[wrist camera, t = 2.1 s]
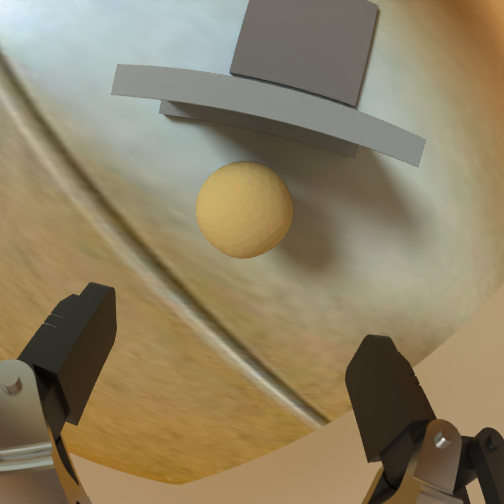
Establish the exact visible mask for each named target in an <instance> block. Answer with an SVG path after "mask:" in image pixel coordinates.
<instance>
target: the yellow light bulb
mask: <svg viewBox="0 0 504 504" xmlns="http://www.w3.org/2000/svg"><path fill="white" fill-rule="evenodd" d="M196 217H197V222H198V225H199V227H200V229H201V232H202V233H203V235H204V236H205V238H206V239H207V240H208V241H209V242H210V243H211V244H212V245H213V246H214V247H215V248H217V249H218V250H219V251H221V252H222V253H224V254H226V255H228V256H231V257H235V258H240V259H241V258H251V257H255V256H258V255H261V254H263V253H265V252H267V251H269V250H271V249H272V248H273V247H275V246H276V245H277V244H278V243H279V242H280V241H281V240H282V239H283V238H284V237H285V235H286V234H287V232H288V230H289V228H290V226H291V222H292V218H293V204H292V199H291V195H290V192H289V190H288V187H287V186H286V184H285V183H284V181H283V180H282V179H281V177H280V176H279V175H278V174H276V173H275V172H274V171H273V170H272V169H270V168H268V167H266V166H264V165H262V164H259V163H256V162H250V161H239V162H234V163H230V164H227V165H225V166H223V167H221V168H219V169H218V170H216V171H215V172H214V173H213V174H211V175H210V177H209V178H208V179H207V180H206V181H205V182H204V184H203V186H202V187H201V189H200V192H199V194H198V197H197V202H196Z"/></svg>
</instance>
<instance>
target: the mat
mask: <svg viewBox="0 0 504 504" xmlns="http://www.w3.org/2000/svg"><path fill="white" fill-rule="evenodd" d="M377 9H378V5H376V4H374V3H371V2H369V1H367V0H249V3H248V7H247V10H246V13H245V17H244V20H243V24H242V27H241V31H240V34H239V38H238V42H237V45H236V49H235V53H234V57H233V60H232V64H231V68H230V72H229V73H232V74H237V75H243V76H248V77H252V78H257V79H262V80H266V81H270V82H274V83H278V84H282V85H286V86H290V87H294V88H297V89H301V90H305V91H308V92H311V93H315V94H318V95H321V96H324V97H328V98H331V99H334V100H337V101H340V102H343V103H346V104H348V105H351V106H355V105H356V101H357V97H358V93H359V89H360V85H361V81H362V77H363V73H364V69H365V65H366V60H367V56H368V52H369V47H370V43H371V38H372V33H373V29H374V24H375V19H376V14H377Z"/></svg>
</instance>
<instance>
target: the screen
mask: <svg viewBox="0 0 504 504" xmlns="http://www.w3.org/2000/svg"><path fill="white" fill-rule="evenodd" d="M111 95H120V96H131V97H141V98H150V99H158V100H161V105H160V110H159V114H166V115H173V116H180V117H187V118H193V119H199V120H205V121H210V122H216V123H221V124H227V125H232V126H237V127H241V128H246V129H251V130H255V131H260V132H264V133H268V134H272V135H276V136H280V137H284V138H288V139H292V140H296V141H300V142H303V143H307V144H311V145H314V146H318V147H321V148H324V149H328V150H331V151H334V152H338V153H341V154H344V155H347V156H350V157H353V158H355V155H356V151H357V148H358V145H360V146H363V147H366V148H368V149H371V150H374V151H377V152H380V153H383V154H385V155H388V156H391V157H393V158H396V159H399V160H401V161H404V162H406V163H409V164H411V165H414V166H416V167H418V166H419V163H420V159H421V156H422V153H423V149H424V146H425V142H426V140H425V139H423V138H421V137H419V136H417V135H415V134H413V133H411V132H408V131H406V130H404V129H402V128H399V127H397V126H395V125H392V124H390V123H388V122H385V121H383V120H380V119H378V118H375V117H373V116H370V115H368V114H365V113H362V112H360V111H357V110H354V109H351V108H348V107H346V106H343V105H340V104H337V103H334V102H331V101H328V100H324V99H321V98H318V97H315V96H311V95H308V94H305V93H301V92H297V91H294V90H290V89H286V88H282V87H278V86H274V85H270V84H266V83H262V82H257V81H252V80H248V79H243V78H238V77H232V76H227V75H221V74H215V73H209V72H202V71H195V70H187V69H178V68H169V67H157V66H143V65H121V64H117V68H116V73H115V77H114V82H113V87H112V92H111Z"/></svg>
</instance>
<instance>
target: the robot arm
mask: <svg viewBox="0 0 504 504" xmlns="http://www.w3.org/2000/svg"><path fill="white" fill-rule="evenodd" d="M116 330H117V323H116V298H115V289H114V288H113V287H109V286H105V285H101V284H97V283H93V282H90V283H89V284H88V285H87V286H86V288H85V289H84V290H83V292H82V293H81V294H80V295H79V296H78V295H75V294H72V295H70V296H69V297H67V298H65V299H64V300H62V301H60V302H59V303H58V305H57V306H56V307H55V308H54V310H53V311H52V312H51V315H49V316H48V317H47V319H46V320H45V321H44V324H42V325H41V326H40V328H39V329H38V330H37V332H36V333H35V335H34V336H33V337H32V339H31V340H30V341H29V343H28V344H27V346H26V347H25V348H24V350H23V351H22V353H21V354H20V356H19V357H18V358H17V359H16V360H14V359H9V360H4V361H1V362H0V504H92V502H91V501H90V499H89V497H88V496H87V494H86V492H85V490H84V489H83V487H82V485H81V482H80V480H79V477H78V476H77V473H76V470H75V468H74V465H73V463H72V460H71V458H70V455H69V452H68V450H67V447H66V444H65V441H64V438H63V435H62V433H61V431H62V428H63V426H64V424H65V421H66V422H68V423H71V424H73V425H76V426H77V425H78V423H79V420H80V418H81V416H82V413H83V411H84V408H85V406H86V404H87V401H88V399H89V397H90V394H91V392H92V390H93V387H94V385H95V383H96V381H97V378H98V376H99V374H100V372H101V370H102V367H103V365H104V363H105V361H106V359H107V357H108V355H109V352H110V350H111V348H112V346H113V344H114V341H115V337H116ZM345 383H346V387H347V390H348V393H349V397H350V400H351V403H352V407H353V410H354V414H355V417H356V421H357V424H358V428H359V431H360V435H361V439H362V442H363V446H364V450H365V453H366V457H367V461H368V463H370V462H378V461H382V464H383V466H382V467H381V468H380V469H379V470H378V472H377V474H376V476H375V478H374V480H373V482H372V484H371V486H370V488H369V490H368V492H367V494H366V496H365V498H364V500H363V502H362V504H470V500H469V497H468V494H467V490H466V487H465V486H466V485H468V484H469V483H471V482H472V481H473V480H475V479H476V478H477V477H478V480H479V483H480V486H481V489H482V493H483V496H484V499H485V502H486V504H504V439H503V438H502V436H501V435H500V434H499V432H497V431H496V430H495V429H493V428H488V427H487V428H484V429H482V430H481V431H480V432H479V433H478V434H477V435H476V436H475V437H468V436H461V435H460V433H459V432H458V430H457V428H456V427H455V426H454V425H453V424H451V423H450V422H448V421H446V420H443V419H437V418H436V416H435V414H434V412H433V410H432V408H431V406H430V404H429V401H428V399H427V397H426V395H425V393H424V391H423V389H422V387H421V386H419V381H418V379H417V377H416V376H415V373H414V371H413V369H412V367H411V365H410V363H409V362H408V361H407V360H406V359H405V358H404V357H403V356H402V355H401V353H400V352H398V351H397V349H396V347H395V345H394V343H393V341H392V339H391V338H390V337H388V336H380V335H367V336H366V337H365V338H364V339H363V341H362V343H361V345H360V346H359V348H358V350H357V352H356V353H355V355H354V357H353V358H352V360H351V362H350V363H349V365H348V367H347V370H346V374H345Z"/></svg>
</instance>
